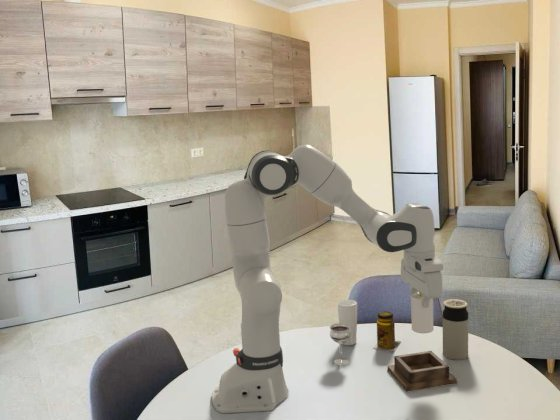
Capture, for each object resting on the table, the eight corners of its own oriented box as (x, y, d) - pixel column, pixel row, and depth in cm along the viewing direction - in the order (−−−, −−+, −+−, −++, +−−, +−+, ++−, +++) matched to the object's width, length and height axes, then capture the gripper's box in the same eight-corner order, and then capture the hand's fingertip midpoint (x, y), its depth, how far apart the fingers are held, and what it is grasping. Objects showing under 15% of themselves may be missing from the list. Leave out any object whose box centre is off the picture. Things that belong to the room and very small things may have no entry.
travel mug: (470, 360, 173) (470, 307, 170) (444, 360, 174) (444, 307, 171) (465, 349, 180) (466, 298, 177) (441, 349, 182) (441, 298, 179)
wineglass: (355, 363, 175) (354, 328, 173) (337, 368, 173) (335, 333, 171) (345, 355, 181) (344, 321, 179) (327, 359, 179) (325, 325, 177)
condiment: (373, 348, 185) (372, 315, 183) (380, 339, 193) (379, 307, 191) (394, 352, 182) (393, 318, 180) (400, 342, 189) (400, 309, 187)
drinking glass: (357, 347, 187) (356, 306, 184) (338, 346, 188) (336, 306, 186) (358, 339, 193) (357, 299, 191) (340, 338, 195) (338, 299, 192)
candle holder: (406, 391, 156) (406, 375, 155) (387, 370, 170) (387, 355, 169) (457, 383, 159) (457, 367, 158) (434, 362, 173) (434, 348, 172)
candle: (433, 325, 164) (432, 277, 161) (433, 333, 157) (432, 284, 155) (412, 324, 165) (411, 277, 163) (411, 332, 159) (410, 284, 156)
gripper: (394, 251, 167) (396, 293, 169) (425, 268, 147) (426, 316, 150) (413, 248, 168) (414, 291, 171) (446, 266, 148) (446, 313, 151)
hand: (420, 303), depth 160 cm, fingers closed on candle, 5 cm apart
